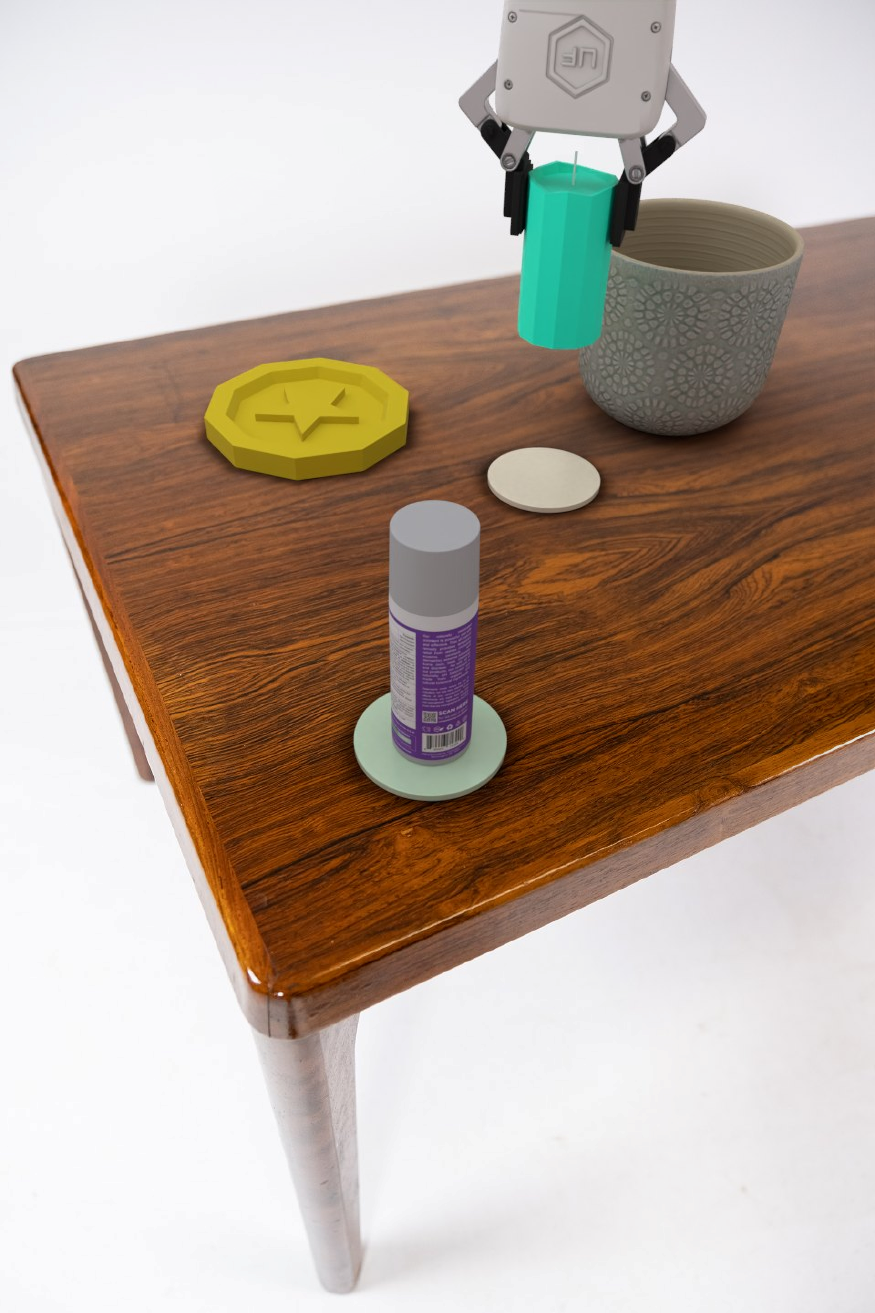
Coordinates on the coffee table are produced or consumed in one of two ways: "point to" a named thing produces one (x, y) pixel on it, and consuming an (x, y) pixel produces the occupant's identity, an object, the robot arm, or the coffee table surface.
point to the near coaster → (429, 780)
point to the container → (433, 629)
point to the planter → (691, 315)
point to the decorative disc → (308, 418)
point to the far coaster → (543, 480)
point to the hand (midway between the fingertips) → (568, 231)
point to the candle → (565, 254)
